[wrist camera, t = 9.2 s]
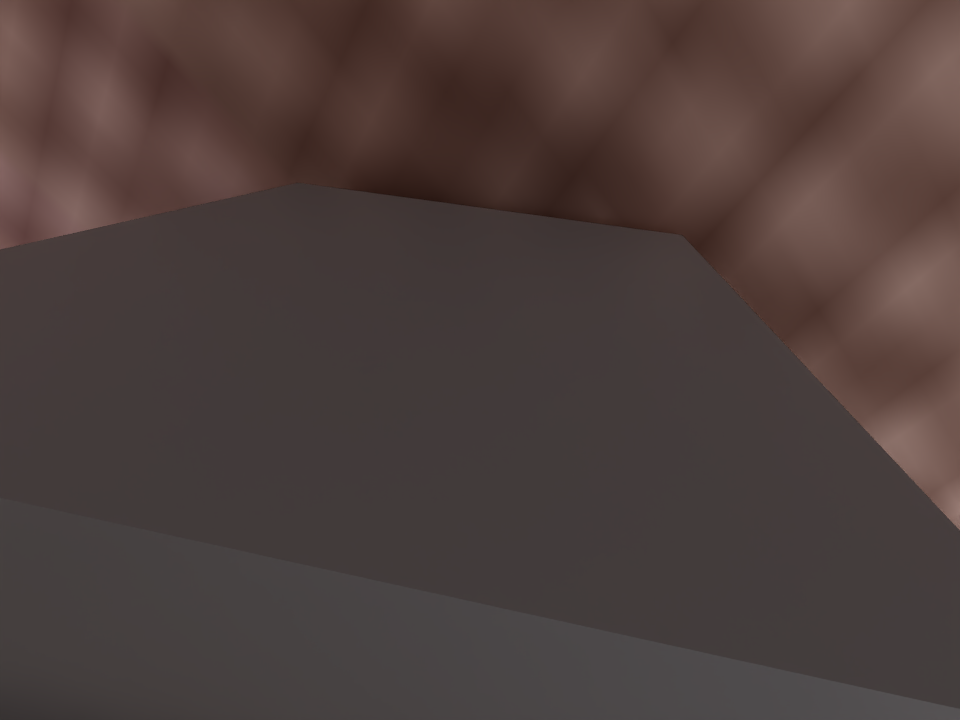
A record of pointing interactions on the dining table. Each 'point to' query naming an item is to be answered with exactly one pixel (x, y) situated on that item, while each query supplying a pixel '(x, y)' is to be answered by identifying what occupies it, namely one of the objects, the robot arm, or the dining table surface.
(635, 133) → the dining table surface
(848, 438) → the plain gray box
